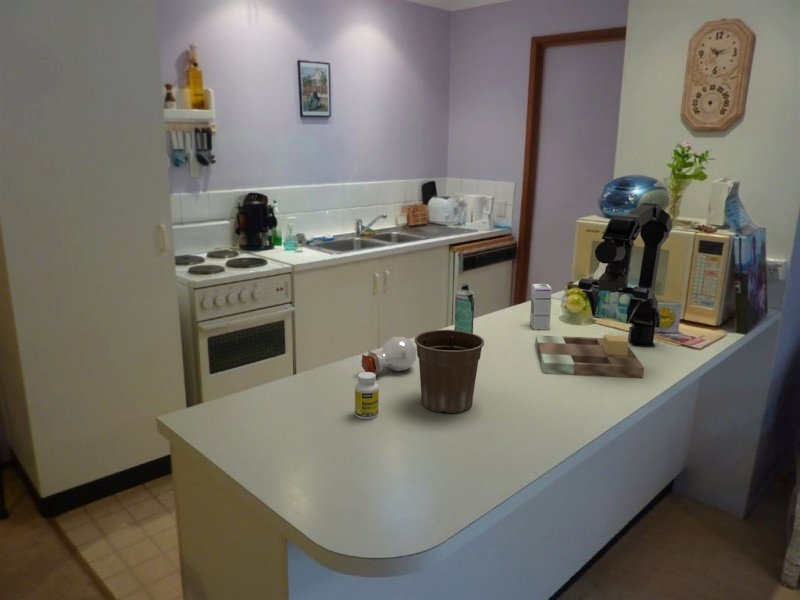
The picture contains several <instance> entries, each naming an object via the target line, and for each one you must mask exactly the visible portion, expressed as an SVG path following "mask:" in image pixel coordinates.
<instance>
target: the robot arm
mask: <svg viewBox="0 0 800 600" xmlns="http://www.w3.org/2000/svg"><path fill="white" fill-rule="evenodd" d="M672 228H673V219H672V218H671V215H670V213H668V212H667V211H665V210H664V209H663V208H662V207H661V205H660V204H658V203H651V202H643V203H640V205H639V206H638V207H637V208H635V209H633V210H632V211H630V212H628V213H625V214H624V213H621V214H614V215H613V216H612V217H611V218H610V219H609V221H608V223H607V224H606V227H605V229H604V233H603V234H602V237H601V240H604V241H602V242H600V243H599V244H598V245H596V246H597V247H596V248H595V249H594V255H595V258H596V261H598V262H600V263H602V264H607V265H606V266H605V269H604V271H603V273H602V274H601V275H600V276H599V278H597V279H596V278H590V277H583V278H580V279H579V281H578V285H577V289H579V290H580V289H581V290H582V293H584V294H585V295H586V296H587V298H588V301H589V305H590V310H591V311H590V312H591V316H592V317H596V314H597V309H598V300H599V291H601V292H603V291H605V292H609V293H613V294H614V293H621V294H627V295H632V296H631V298H630V299H629V304H628V305H627V309H626V323H627V324H631V325H630V326H629V328H628V329H629V330H628V335H627V336H628V338H627V340H628V342H630V343H631V345H632V346H636V347H637V346H638V347H655V344H654V339H655V329H657V328H660V327H661V323H662V321H661V320H662V317H661V315H660V311H659V308H658V306H659V302H658V301H659V300H658V299H657V297H656V295H655V288H656V281H657V275H658V267H659V262H660V256H661V250H662V249H661V248H662V246H663V245H664V243H665V242H666V241H667V240H668V239H669V235H670V233H671V232H672ZM639 235H640V238H641V240H642V242H643V245H644V246H643V252H642V260H641V265H640V271H639V272H640V273H639V278H638V285H636V286H634V287H631V286H628V285H629V284H628V283H629V272H630V271H631V262H632V261H631V260H632V253H633V247H634V246H635V243H634V242H635V241H636V240H637V238H638V237H639Z"/></svg>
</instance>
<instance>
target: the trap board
mask: <svg viewBox="0 0 800 600" xmlns="http://www.w3.org/2000/svg"><path fill="white" fill-rule="evenodd" d="M534 343H535V344H534V346H535V345H536V346H535V348H536V353H537V356H538V359H539V362H540V366H541V369H542V373H543V374H554V375H555V374H557V375H573V376H574V375H575V376H589V377H591V376H592V377H593V376H596V377H612V378H629V379H631V378H632V379H643V378H644V372H645V367H644V365H643V364H642V363H641V361H640V360H639V358H638V357H637V356H636V355H635V353H634V352H633V350H632V348H631V347H630V346H629V345H628V352H627V355H610V354H606V352H605V350H604V349H603V343H604V337H585V336H584V337H583V336H564V335H563V336H561V335H542V334H541V335H539V334H536V335H535V341H534Z"/></svg>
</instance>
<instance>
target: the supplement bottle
mask: <svg viewBox="0 0 800 600" xmlns="http://www.w3.org/2000/svg"><path fill="white" fill-rule="evenodd" d="M376 379H377V375H375V374H374V373H372V372H365V371H362V372H360V373H358V374H357V381H358V382H356V383H355V386H354V416H356V417H357V418H358V419H361V420H372V419H375V418H378V417H377V416H378V415H379V394H380V393H379V392H380V391H379V390H380V388H379V386H380V385H378V383H377V382H376Z"/></svg>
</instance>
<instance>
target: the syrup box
mask: <svg viewBox="0 0 800 600" xmlns="http://www.w3.org/2000/svg"><path fill="white" fill-rule="evenodd" d="M552 289H553V287H552V286H550V284H548V283H534V284H533V283H532V284H531V294H530V295H531V297H530V299H531V300H530V301H531V302H530V317H529V319H530V320H529V326H530V325H531V326H530V327H531V329H532V330H533V329H541V330H540V331H550V325H551V311H552V310H551V308H552V293H553V292H552V291H553V290H552Z"/></svg>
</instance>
